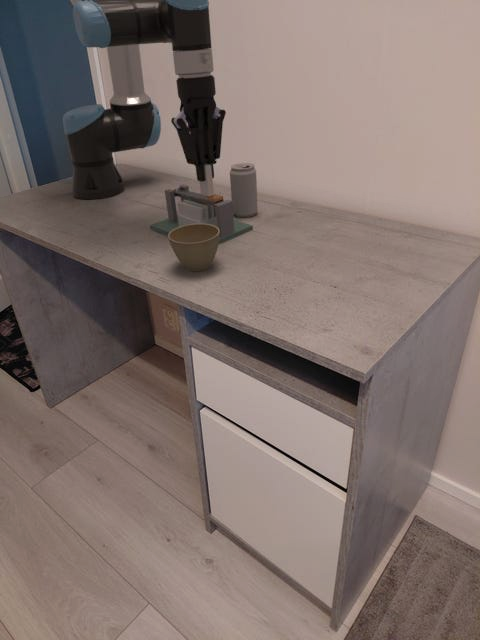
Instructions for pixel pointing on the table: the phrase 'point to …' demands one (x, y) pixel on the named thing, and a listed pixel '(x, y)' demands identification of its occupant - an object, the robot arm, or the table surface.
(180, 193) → the grey long bar
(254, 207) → the beverage can
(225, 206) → the board
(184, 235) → the flower pot
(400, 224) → the table surface
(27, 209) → the table surface
